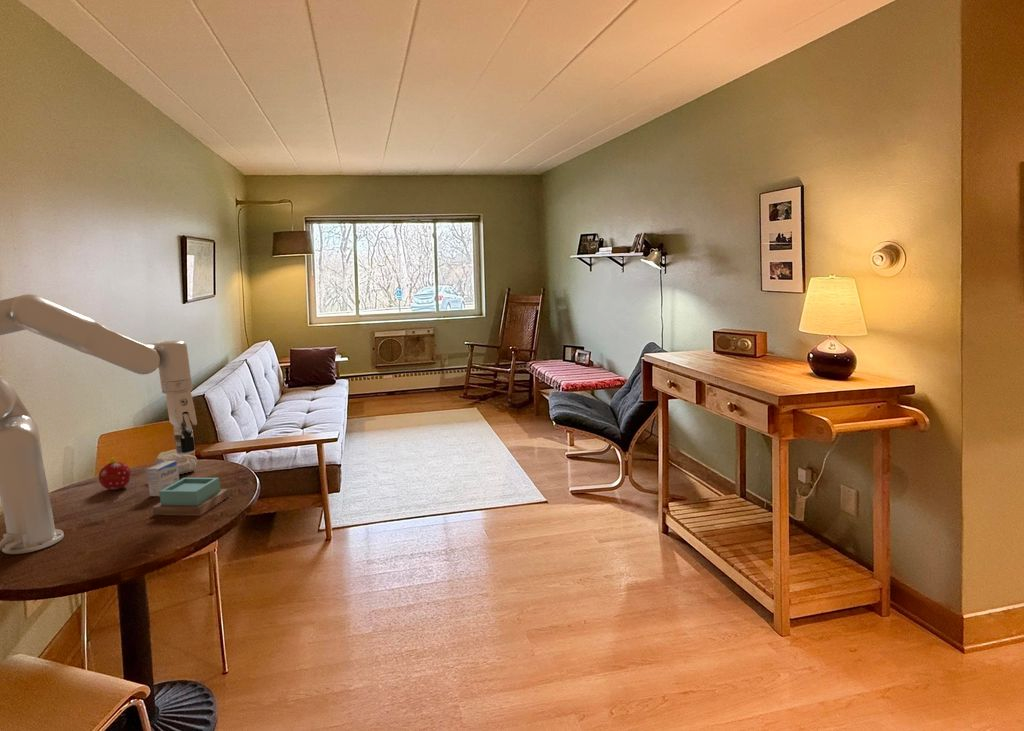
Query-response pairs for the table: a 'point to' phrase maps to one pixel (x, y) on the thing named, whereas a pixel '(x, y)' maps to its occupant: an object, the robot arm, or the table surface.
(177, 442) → the pill bottle
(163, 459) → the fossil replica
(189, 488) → the teal tray
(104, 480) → the christmas ornament
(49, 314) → the robot arm
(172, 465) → the medicine box
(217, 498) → the walnut slab
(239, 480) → the table surface
